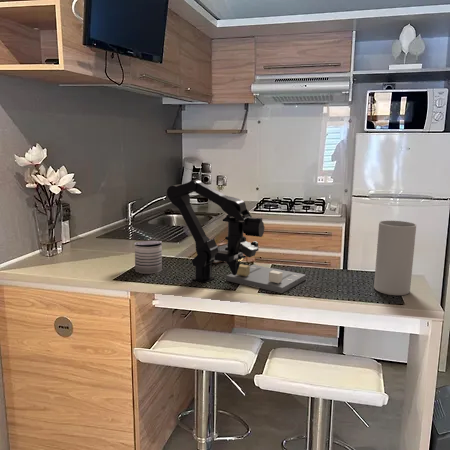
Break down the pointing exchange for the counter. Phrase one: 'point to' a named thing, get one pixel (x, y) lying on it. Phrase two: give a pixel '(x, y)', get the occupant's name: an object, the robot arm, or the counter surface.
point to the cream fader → (275, 276)
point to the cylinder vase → (394, 257)
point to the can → (148, 257)
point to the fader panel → (267, 279)
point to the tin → (221, 249)
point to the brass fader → (243, 270)
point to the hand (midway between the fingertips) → (234, 274)
